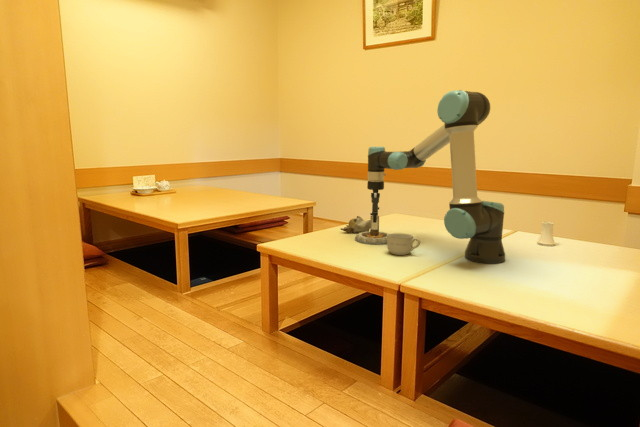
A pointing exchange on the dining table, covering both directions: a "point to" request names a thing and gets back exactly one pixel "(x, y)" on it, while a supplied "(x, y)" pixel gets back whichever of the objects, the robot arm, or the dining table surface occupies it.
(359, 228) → the ceramic sculpture
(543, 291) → the dining table surface
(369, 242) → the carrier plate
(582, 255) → the dining table surface
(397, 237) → the teacup
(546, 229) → the vase
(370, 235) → the sun gear
